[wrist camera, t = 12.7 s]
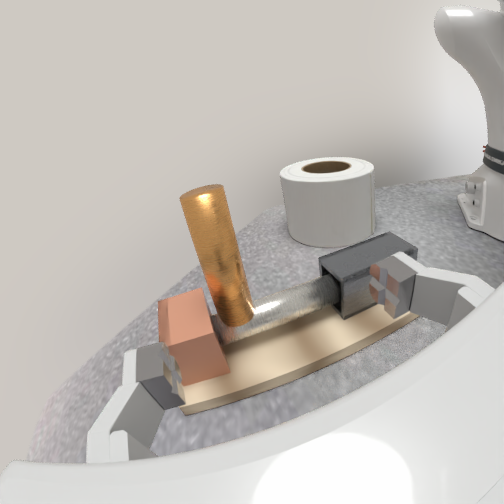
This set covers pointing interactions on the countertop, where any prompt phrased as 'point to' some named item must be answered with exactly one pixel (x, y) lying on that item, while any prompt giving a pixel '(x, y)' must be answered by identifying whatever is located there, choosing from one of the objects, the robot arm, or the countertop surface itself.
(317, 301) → the tube
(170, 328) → the socket
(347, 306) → the sleeve
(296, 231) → the toilet paper roll
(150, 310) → the countertop surface
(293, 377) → the board
